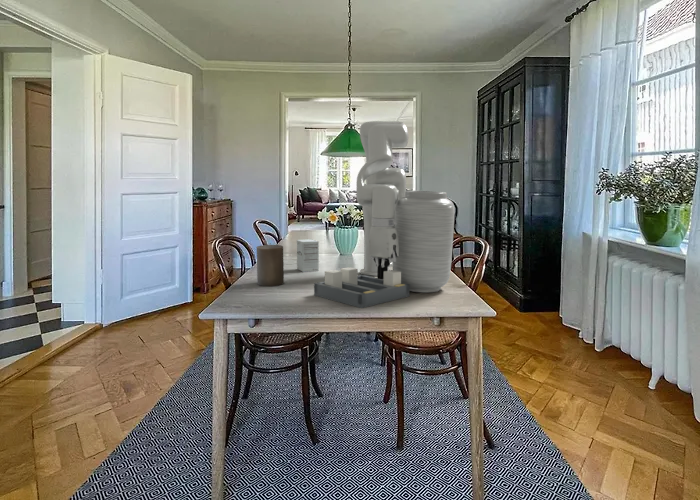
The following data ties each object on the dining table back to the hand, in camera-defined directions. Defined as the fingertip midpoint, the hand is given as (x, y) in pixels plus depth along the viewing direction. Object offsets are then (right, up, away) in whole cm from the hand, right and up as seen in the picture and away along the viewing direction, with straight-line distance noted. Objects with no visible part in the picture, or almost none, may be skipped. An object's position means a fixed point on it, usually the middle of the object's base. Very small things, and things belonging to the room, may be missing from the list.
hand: (382, 278), depth 161 cm
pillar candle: (-40, -3, +16) cm, 43 cm away
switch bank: (-7, -6, -2) cm, 9 cm away
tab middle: (-11, -4, +2) cm, 12 cm away
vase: (+14, -4, +10) cm, 17 cm away
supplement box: (-28, +1, +43) cm, 52 cm away
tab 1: (-16, -4, -3) cm, 17 cm away
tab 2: (+3, -5, -2) cm, 6 cm away
